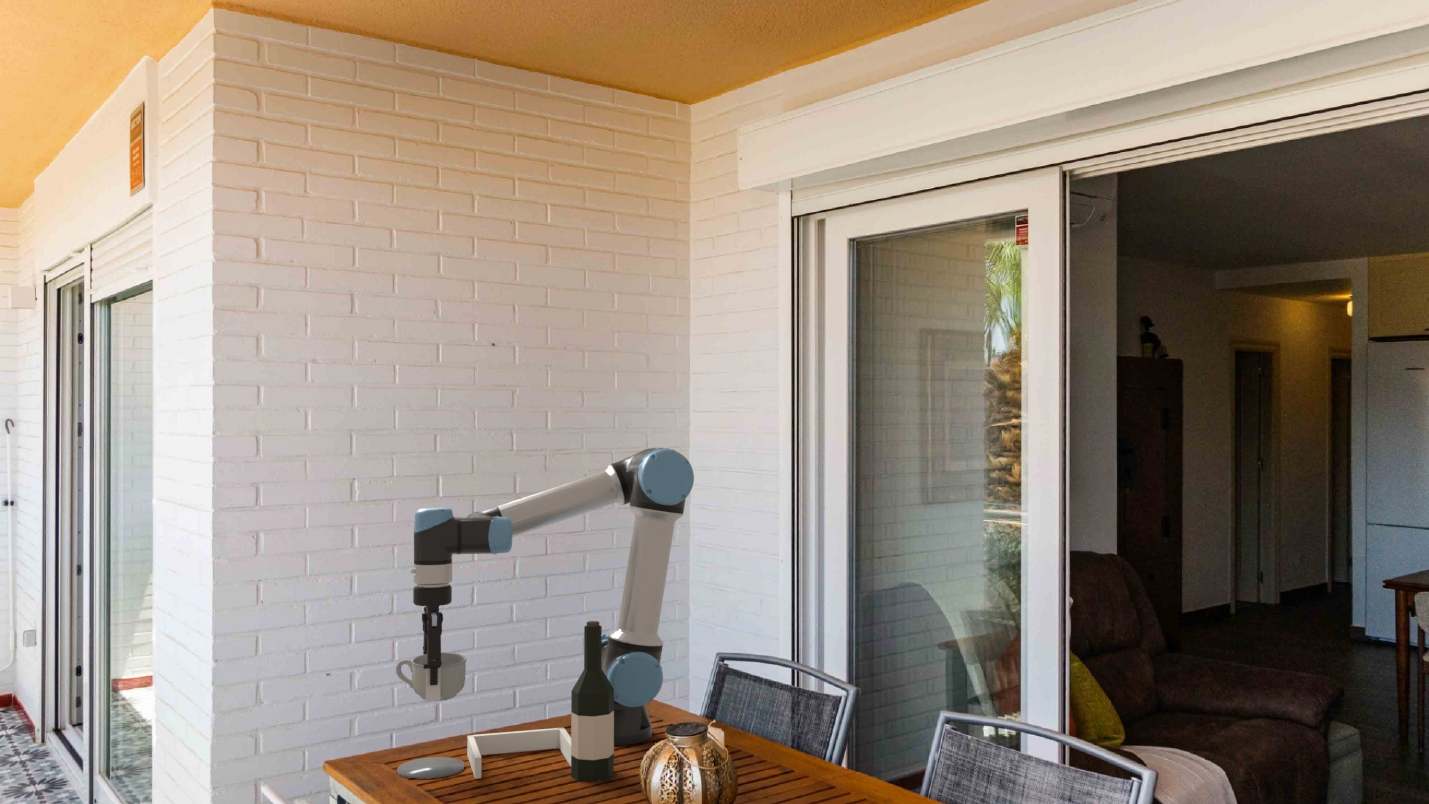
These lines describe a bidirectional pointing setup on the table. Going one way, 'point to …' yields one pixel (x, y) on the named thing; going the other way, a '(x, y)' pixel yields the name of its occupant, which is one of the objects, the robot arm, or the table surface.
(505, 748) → the white u-shaped frame
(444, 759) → the grey flat disc
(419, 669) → the teacup
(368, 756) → the table surface
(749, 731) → the table surface
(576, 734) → the wine bottle
